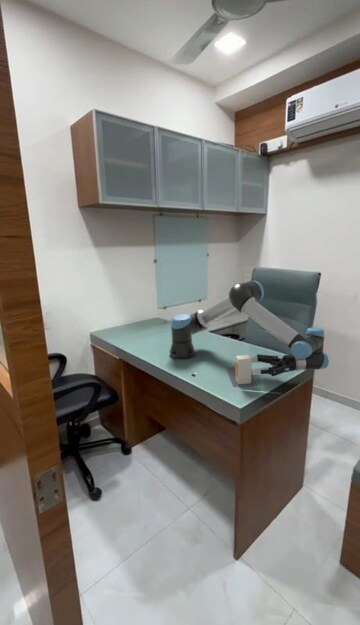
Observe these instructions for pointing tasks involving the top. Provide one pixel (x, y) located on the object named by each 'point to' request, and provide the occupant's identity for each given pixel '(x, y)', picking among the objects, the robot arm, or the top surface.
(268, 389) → the top surface
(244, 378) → the card box
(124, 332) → the top surface
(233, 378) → the mat
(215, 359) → the top surface
